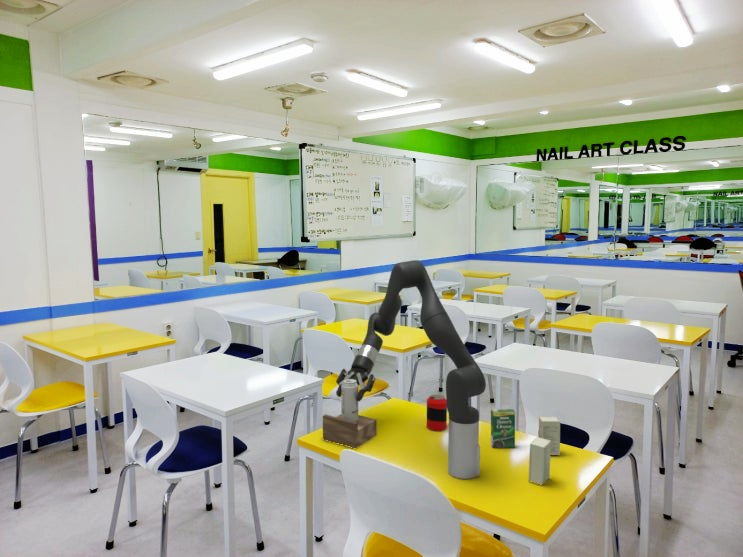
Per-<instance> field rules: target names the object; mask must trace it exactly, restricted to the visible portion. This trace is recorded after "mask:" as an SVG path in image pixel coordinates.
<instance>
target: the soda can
mask: <svg viewBox="0 0 743 557" xmlns="http://www.w3.org/2000/svg"><path fill="white" fill-rule="evenodd" d="M447 413H448V410H447V404H446V396H444V395H442V394H441V395H440V394H432V395H429V397H428V398H426V428H427V429H428V430H429V429H430V431H432V430H433V431H432V432H442V430H443V431H445V430H447V420H448V416H447V415H448V414H447Z"/></svg>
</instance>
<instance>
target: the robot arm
mask: <svg viewBox="0 0 743 557" xmlns="http://www.w3.org/2000/svg"><path fill="white" fill-rule="evenodd" d="M434 287H435V286H434V285H433V283H432V280H431V278H430V276H429V273H428V271H427V268H426V267H425V265H424V264H423V262H422V261H420V260H417V259H415V260H413V259H412V260H407V261H401V262H397V263H395V265H393V267H392V269H391V272H390V276H389V280H388V283H387V288H386V293H385V296H384V297H383V301H381V304H380V306H379V309H378V312H377V311H375V312H373V313H372V314H371V315H369V317H368V323H367V329H366V334H365V338H364V340H363V342H362V343H361V346H360V347H359V349H358V351H357V353H356V355H355V357H354V359H353V361H352V364H351V368H350V370H346V369H345V368H343V369H341V371H340V373H339V375H338V377H337V378H336V381H335V383H336V384H337V385H338V387H337V389H336V391H335V394H336V396H337V398H342V394H341V386H342V384H343V380H346V379H354V380H356V381H357V384H358V386H359V387H360V389H358V394H357V397H356V400H357V401H358V402H361V401H362V400H363V398H364V396H365V394H366V393H367V392H368V393H370V392H371V391H372V390H373V387H374V385H375V381H376V379H377V378H376V377H375V375H374V374H373V373H371V372H372V370H373V368H374V366H375V364H376V362H377V358H378V356H379V354H380V351H381V348H382V346H383V343H384V340H383V339H382V336H380V335H383V336H385V337H387V336H390V335H392V334H393V333H394V330H395V326H396V318H397V316H398V314H399V312H400V310H401V307H402V303H403V302H402V298H401V296H400V293H401V291H402V290H404V289H405V290H406V289H411V288H416V289H417V290H418V292H419V294H420V296H421V306H420V315H419V316H420V318H419V320H420V324H421V327H422V329H423V331H424V332H425V335H426V337H427V339H428V340H429V342H431V343H432V344H433V345H434V346H435V347H437V349H439V350H440V351H441V352H443V353H444V354H446V356H448V357H449V358H450V360H451V361H452V362H453V364H454V365H455V367H456V368H455V369H451V370H450V371H449V372H448V374H447V375H446V378H445V399H446V404H447V413H448V437H447V438H448V441H447V442H448V443H447V447H448V449H447V473H448V474H449V475H450V476H452V477H453V478H457V479H460V480H461V479H464V480H470V479H474V478H475V477H480V475H481V474H480V472H481V446H480V444H479V438H480V436H479V434H480V433H479V432H480V431H479V430H480V429H479V428H480V411H479V410H478V409H477V408H476V407H474V406H471V405H470V404H469V402H470V401H469V398H472V397H474V398H475V397H477V396H480V395H483V393H484V392H485V391H486V387H487V382H486V379H485V375H484V373H483V371H482V370H481V368H480V366H479V364H478V363H477V362H476V361H475V358H474V357H473V355H471V352H469V350H468V348H467V347H466V345H465V344H464V342H463V341H462V338H461V337H460V335H459V333H458V331H457V330H456V328H455V325H454V324H453V321H452V320H451V318H450V316H449V314H448V312H447V310H446V309H445V307H444V305H443V304H442V302H441V300H440V298H439V296H438V294H437V292H436V290H435V288H434ZM378 334H379V335H378ZM366 381H367V383H366Z"/></svg>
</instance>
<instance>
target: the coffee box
mask: <svg viewBox="0 0 743 557" xmlns="http://www.w3.org/2000/svg"><path fill="white" fill-rule="evenodd" d="M515 445H516V412H515V410H514V409H513V408H511V409H510V408H508V409H491V410H490V446H491V447H492V449H502V448H503V449H507V448H508V449H514V448H515V447H516V446H515Z"/></svg>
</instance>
